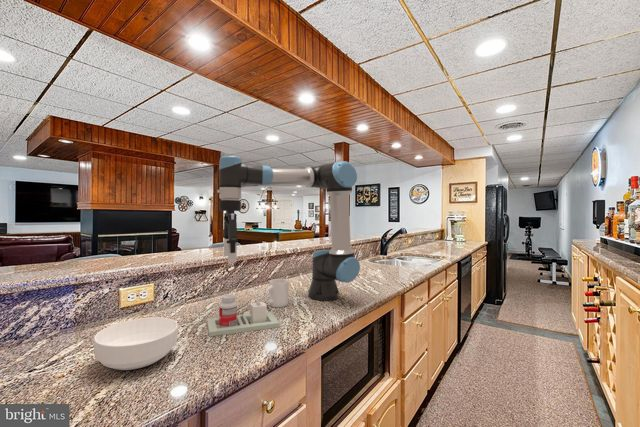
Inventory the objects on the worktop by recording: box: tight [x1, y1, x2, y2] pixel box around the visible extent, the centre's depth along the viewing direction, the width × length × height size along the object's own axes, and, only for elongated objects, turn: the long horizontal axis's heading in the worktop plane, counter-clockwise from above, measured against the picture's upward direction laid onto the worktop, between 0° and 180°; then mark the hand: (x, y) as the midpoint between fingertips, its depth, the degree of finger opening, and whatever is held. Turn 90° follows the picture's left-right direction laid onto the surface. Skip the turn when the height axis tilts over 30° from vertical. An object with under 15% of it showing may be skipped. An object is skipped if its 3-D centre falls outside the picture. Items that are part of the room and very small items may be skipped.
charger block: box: [249, 301, 268, 324], centre depth 111 cm, size 5×5×7 cm
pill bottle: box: [218, 293, 238, 328], centre depth 107 cm, size 6×6×11 cm
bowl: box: [93, 316, 179, 371], centre depth 82 cm, size 20×20×8 cm
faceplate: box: [206, 311, 281, 338], centre depth 109 cm, size 24×13×2 cm, turn 114°
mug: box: [264, 278, 290, 308], centre depth 132 cm, size 9×12×11 cm
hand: (229, 259), depth 106 cm, fingers open, 13 cm apart
